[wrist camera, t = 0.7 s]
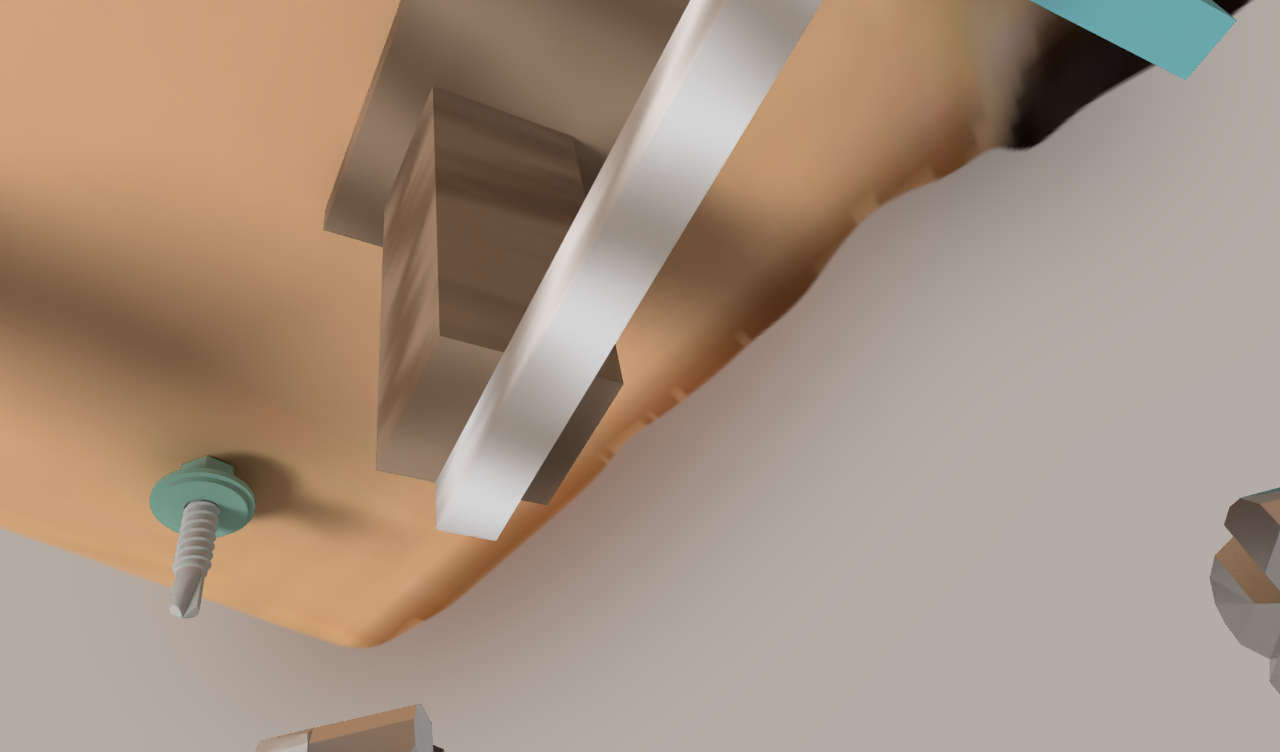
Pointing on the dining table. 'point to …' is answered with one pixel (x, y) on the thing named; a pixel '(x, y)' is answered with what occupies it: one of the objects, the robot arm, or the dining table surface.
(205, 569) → the screw
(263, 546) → the dining table surface
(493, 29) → the shelf
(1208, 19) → the teal stepped bracket
